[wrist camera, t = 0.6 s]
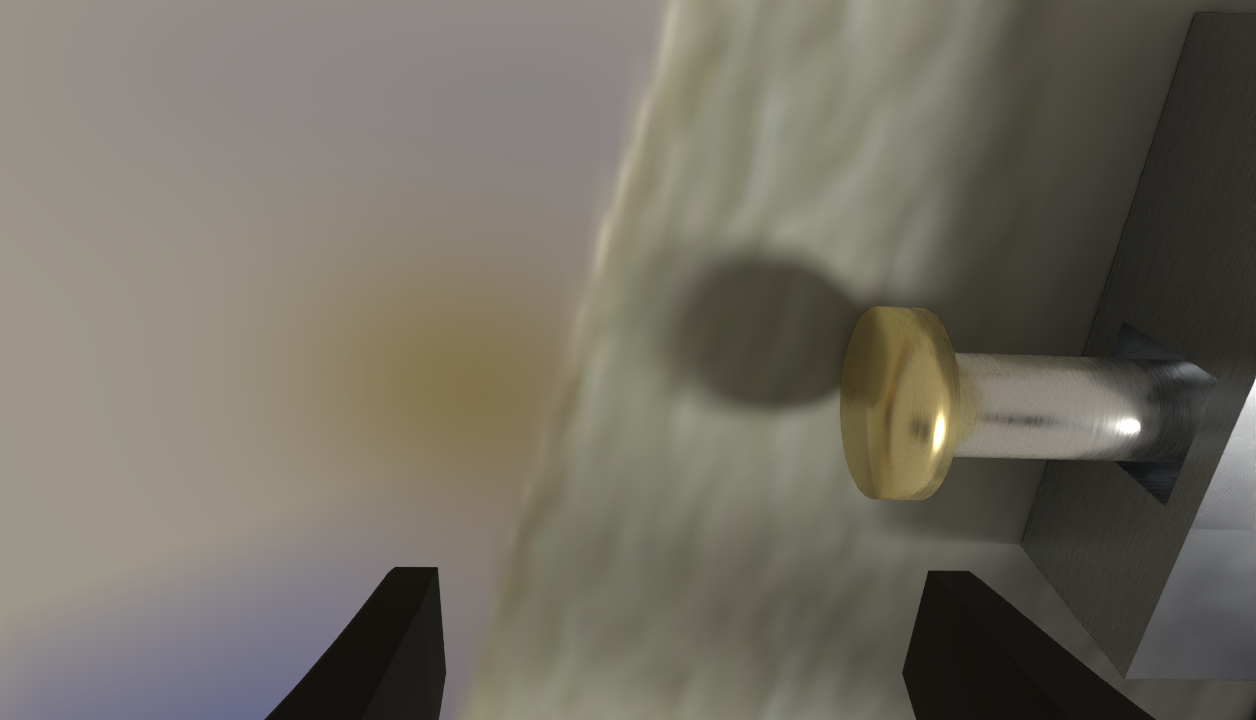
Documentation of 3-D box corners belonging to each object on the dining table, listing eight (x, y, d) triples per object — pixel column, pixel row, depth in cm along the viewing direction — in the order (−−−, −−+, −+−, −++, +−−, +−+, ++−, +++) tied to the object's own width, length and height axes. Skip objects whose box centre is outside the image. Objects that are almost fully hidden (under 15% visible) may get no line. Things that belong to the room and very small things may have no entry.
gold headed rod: (1250, 295, 19) (1418, 371, 15) (1187, 445, 21) (1324, 548, 17) (859, 280, 19) (929, 354, 15) (829, 435, 21) (885, 539, 17)
